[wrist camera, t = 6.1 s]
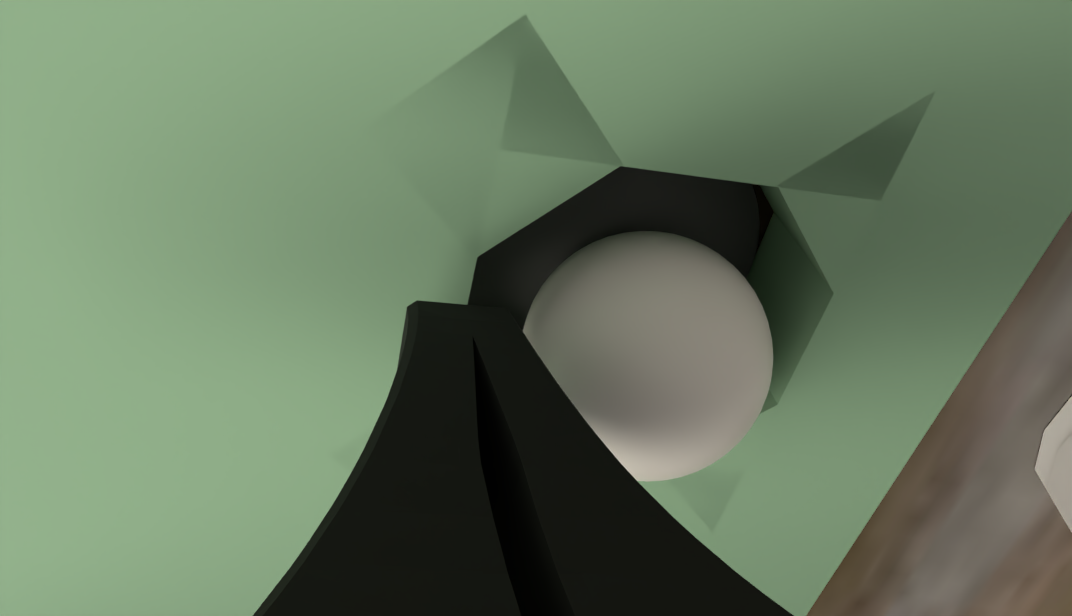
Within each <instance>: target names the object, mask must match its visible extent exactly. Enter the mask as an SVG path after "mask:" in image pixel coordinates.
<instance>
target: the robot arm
mask: <svg viewBox="0 0 1072 616" xmlns="http://www.w3.org/2000/svg"><path fill="white" fill-rule="evenodd" d="M253 616H794V615H792V614H791V613H790V612H788V611H787V610H785V609H784V608H783V607H781V606H780V605H779V604H777V603H776V602H774V601H773V600H772V599H770V598H769V597H768V596H766V595H765V594H764V593H762V592H761V591H760V590H759V589H757V588H756V587H755V586H753V585H752V584H751V583H750V582H748V581H747V580H746V579H744V578H743V577H742V576H741V575H739V574H738V573H737V572H736V571H734V570H733V569H732V568H731V567H730V566H728V565H727V564H726V563H725V562H724V561H723V560H721V559H720V558H719V557H718V556H717V555H715V554H714V553H713V552H712V551H711V550H710V549H708V548H707V547H706V546H705V545H704V544H703V543H701V542H700V541H699V540H698V539H697V538H695V537H694V536H693V535H692V534H691V533H690V532H689V531H688V530H687V529H686V528H685V527H683V526H682V525H681V524H680V523H679V522H678V521H677V520H676V519H675V518H674V517H673V516H672V515H671V514H670V513H669V512H668V511H667V510H666V509H665V508H664V507H663V506H662V505H661V504H660V503H659V502H658V501H657V500H656V499H655V498H654V497H653V496H652V495H651V494H650V493H649V492H648V491H647V490H646V489H645V488H644V487H643V486H642V485H641V484H640V483H639V482H638V481H637V480H636V479H635V478H634V477H633V476H632V475H631V474H630V473H629V472H628V471H627V470H626V469H625V467H624V466H623V465H622V464H621V463H620V462H619V461H618V459H617V458H616V457H615V456H614V455H613V454H612V452H611V451H610V450H609V449H608V448H607V446H606V445H605V444H604V443H603V442H602V441H601V439H600V438H599V437H598V436H597V434H596V433H595V432H594V431H593V429H592V428H591V427H590V426H589V424H588V423H587V422H586V421H585V419H584V418H583V417H582V415H581V414H580V413H579V411H578V410H577V408H576V407H575V406H574V404H573V403H572V402H571V400H570V399H569V398H568V396H567V395H566V394H565V392H564V391H563V390H562V388H561V387H560V386H559V384H558V383H557V381H556V380H555V379H554V377H553V376H552V374H551V373H550V371H549V370H548V368H547V367H546V366H545V364H544V363H543V361H542V360H541V358H540V357H539V355H538V354H537V352H536V351H535V349H534V348H533V346H532V345H531V343H530V342H529V340H528V339H527V337H526V336H525V334H524V333H523V331H522V329H521V328H520V326H519V325H518V323H517V322H516V320H515V319H514V317H513V316H512V315H511V313H510V312H509V311H508V309H507V308H498V307H487V306H476V305H464V304H453V303H442V302H430V301H419V300H417V301H415V302H413V303H412V304H410V305H409V306H407V310H406V316H405V323H404V329H403V335H402V342H401V348H400V354H399V360H398V367H397V372H396V375H395V377H394V380H393V383H392V386H391V389H390V391H389V394H388V397H387V400H386V402H385V404H384V407H383V409H382V411H381V413H380V416H379V418H378V420H377V422H376V424H375V426H374V428H373V431H372V433H371V435H370V437H369V439H368V441H367V443H366V446H365V448H364V450H363V452H362V453H361V455H360V457H359V459H358V461H357V463H356V465H355V467H354V468H353V470H352V472H351V474H350V476H349V477H348V479H347V481H346V483H345V484H344V486H343V488H342V489H341V491H340V493H339V495H338V496H337V498H336V500H335V501H334V503H333V505H332V506H331V508H330V509H329V511H328V512H327V514H326V515H325V517H324V518H323V520H322V522H321V523H320V525H319V526H318V528H317V529H316V531H315V532H314V534H313V535H312V537H311V538H310V540H309V541H308V543H307V544H306V546H305V547H304V549H303V550H302V552H301V553H300V554H299V556H298V557H297V559H296V560H295V561H294V563H293V564H292V566H291V567H290V568H289V570H288V571H287V572H286V573H285V575H284V576H283V577H282V579H281V580H280V581H279V582H278V584H277V585H276V586H275V588H274V589H273V590H272V591H271V593H270V594H269V595H268V597H267V598H266V599H265V600H264V602H263V603H262V604H261V606H260V607H259V608H258V609H257V611H256V612H255V613H254V615H253Z"/></svg>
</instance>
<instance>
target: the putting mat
mask: <svg viewBox="0 0 1072 616" xmlns="http://www.w3.org/2000/svg"><path fill="white" fill-rule="evenodd" d="M752 184H758V185H760V187H761V189H762V191H763V193H764V195H765V196H766V198H767V200H768V202H769V204H770V206H771V208H772V209H773V211H774V213H773V215H772V218H771V220H770V222H769V225H768V227H767V229H766V232H765V234H764V236H763V239H762V241H761V243H760V246H759V248H758V250H757V245H758V240H759V227H760V219H759V208H758V202H757V199H756V195H755V191H754V188H753V186H752ZM1071 211H1072V0H0V616H253V615H254V613H255V612H256V611H257V609H258V608H259V607H260V606H261V604H262V603H263V602H264V600H265V599H266V598H267V597H268V595H269V594H270V593H271V591H272V590H273V589H274V588H275V586H276V585H277V584H278V582H279V581H280V580H281V579H282V577H283V576H284V575H285V573H286V572H287V571H288V570H289V568H290V567H291V566H292V564H293V563H294V561H295V560H296V559H297V557H298V556H299V554H300V553H301V552H302V550H303V549H304V547H305V546H306V544H307V543H308V541H309V540H310V538H311V537H312V535H313V534H314V532H315V531H316V529H317V528H318V526H319V525H320V523H321V522H322V520H323V518H324V517H325V515H326V514H327V512H328V511H329V509H330V508H331V506H332V505H333V503H334V501H335V500H336V498H337V496H338V495H339V493H340V491H341V489H342V488H343V486H344V484H345V483H346V481H347V479H348V477H349V476H350V474H351V472H352V470H353V468H354V467H355V465H356V463H357V461H358V459H359V457H360V455H361V453H362V452H363V450H364V448H365V446H366V443H367V441H368V439H369V437H370V435H371V433H372V431H373V428H374V426H375V424H376V422H377V420H378V418H379V416H380V413H381V411H382V409H383V407H384V404H385V402H386V400H387V397H388V394H389V391H390V389H391V386H392V383H393V380H394V377H395V375H396V372H397V367H398V360H399V354H400V348H401V342H402V335H403V329H404V323H405V316H406V310H407V306H409V305H410V304H412V303H413V302H415V301H417V300H419V301H430V302H442V303H453V304H464V305H476V306H487V307H498V308H507V309H508V311H509V312H510V313H511V315H512V316H513V317H514V319H515V320H516V322H517V323H518V325H519V326H520V328H521V329H522V331H523V328H524V324H525V321H526V318H527V315H528V312H529V309H530V307H531V304H532V302H533V300H534V298H535V296H536V295H537V293H538V291H539V290H540V288H541V286H542V285H543V283H544V282H545V281H546V280H547V278H548V277H549V276H550V275H551V273H552V272H553V271H554V270H555V269H556V268H557V267H558V266H559V265H560V264H561V263H562V262H563V261H564V260H566V259H567V258H568V257H570V256H571V255H572V254H574V253H575V252H577V251H578V250H580V249H581V248H583V247H585V246H587V245H589V244H591V243H592V242H595V241H598V240H600V239H603V238H605V237H608V236H612V235H616V234H621V233H626V232H635V231H659V232H665V233H672V234H676V235H679V236H683V237H686V238H690V239H692V240H694V241H696V242H699V243H701V244H703V245H705V246H707V247H709V248H710V249H712V250H714V251H715V252H717V253H719V254H720V255H721V256H722V257H724V258H725V259H726V260H727V261H729V262H730V263H731V264H732V265H733V266H734V267H735V268H736V269H737V270H738V271H739V272H740V273H741V274H742V275H743V276H744V277H745V279H746V280H747V281H748V283H749V284H750V286H751V287H752V288H753V290H754V291H755V293H756V295H757V297H758V299H759V300H760V302H761V304H762V306H763V309H764V312H765V314H766V317H767V320H768V323H769V328H770V332H771V337H772V346H773V368H772V378H771V383H770V388H769V391H768V394H767V397H766V400H765V402H764V405H763V407H762V410H761V412H760V414H759V416H758V417H757V419H756V421H755V422H754V424H753V426H752V427H751V429H750V430H749V431H748V432H747V434H746V435H745V436H744V437H743V439H742V440H741V441H740V442H739V443H738V444H737V445H736V446H735V447H734V448H733V449H732V450H730V451H729V452H728V453H727V454H726V455H725V456H723V457H722V458H720V459H719V460H717V461H716V462H714V463H713V464H711V465H709V466H707V467H705V468H703V469H701V470H699V471H697V472H695V473H692V474H689V475H686V476H683V477H679V478H675V479H670V480H664V481H650V482H646V481H638V482H639V483H640V484H641V485H642V486H643V487H644V488H645V489H646V490H647V491H648V492H649V493H650V494H651V495H652V496H653V497H654V498H655V499H656V500H657V501H658V502H659V503H660V504H661V505H662V506H663V507H664V508H665V509H666V510H667V511H668V512H669V513H670V514H671V515H672V516H673V517H674V518H675V519H676V520H677V521H678V522H679V523H680V524H681V525H682V526H683V527H685V528H686V529H687V530H688V531H689V532H690V533H691V534H692V535H693V536H694V537H695V538H697V539H698V540H699V541H700V542H701V543H703V544H704V545H705V546H706V547H707V548H708V549H710V550H711V551H712V552H713V553H714V554H715V555H717V556H718V557H719V558H720V559H721V560H723V561H724V562H725V563H726V564H727V565H728V566H730V567H731V568H732V569H733V570H734V571H736V572H737V573H738V574H739V575H741V576H742V577H743V578H744V579H746V580H747V581H748V582H750V583H751V584H752V585H753V586H755V587H756V588H757V589H759V590H760V591H761V592H762V593H764V594H765V595H766V596H768V597H769V598H770V599H772V600H773V601H774V602H776V603H777V604H779V605H780V606H781V607H783V608H784V609H785V610H787V611H788V612H790V613H791V614H792V615H794V616H806V615H807V613H808V612H809V610H810V609H811V607H812V606H813V604H814V603H815V601H816V600H817V598H818V597H819V595H820V594H821V592H822V591H823V589H824V588H825V586H826V584H827V583H828V581H829V580H830V578H831V577H832V575H833V574H834V572H835V571H836V569H837V568H838V566H839V565H840V563H841V562H842V560H843V559H844V557H845V556H846V554H847V552H848V551H849V549H850V548H851V546H852V545H853V543H854V542H855V540H856V539H857V537H858V536H859V534H860V533H861V531H862V530H863V528H864V527H865V525H866V524H867V522H868V521H869V519H870V517H871V516H872V514H873V513H874V511H875V510H876V508H877V507H878V505H879V504H880V502H881V501H882V499H883V498H884V496H885V495H886V493H887V492H888V490H889V489H890V487H891V485H892V484H893V482H894V481H895V479H896V478H897V476H898V475H899V473H900V472H901V470H902V469H903V467H904V466H905V464H906V463H907V461H908V460H909V458H910V457H911V455H912V453H913V452H914V450H915V449H916V447H917V446H918V444H919V443H920V441H921V440H922V438H923V437H924V435H925V434H926V432H927V431H928V429H929V428H930V426H931V425H932V423H933V422H934V420H935V418H936V417H937V415H938V414H939V412H940V411H941V409H942V408H943V406H944V405H945V403H946V402H947V400H948V399H949V397H950V396H951V394H952V393H953V391H954V390H955V388H956V386H957V385H958V383H959V382H960V380H961V379H962V377H963V376H964V374H965V373H966V371H967V370H968V368H969V367H970V365H971V364H972V362H973V361H974V359H975V358H976V356H977V355H978V353H979V351H980V350H981V348H982V347H983V345H984V344H985V342H986V341H987V339H988V338H989V336H990V335H991V333H992V332H993V330H994V329H995V327H996V326H997V324H998V323H999V321H1000V319H1001V318H1002V316H1003V315H1004V313H1005V312H1006V310H1007V309H1008V307H1009V306H1010V304H1011V303H1012V301H1013V300H1014V298H1015V297H1016V295H1017V294H1018V292H1019V291H1020V289H1021V287H1022V286H1023V284H1024V283H1025V281H1026V280H1027V278H1028V277H1029V275H1030V274H1031V272H1032V271H1033V269H1034V268H1035V266H1036V265H1037V263H1038V262H1039V260H1040V259H1041V257H1042V256H1043V254H1044V252H1045V251H1046V249H1047V248H1048V246H1049V245H1050V243H1051V242H1052V240H1053V239H1054V237H1055V236H1056V234H1057V233H1058V231H1059V230H1060V228H1061V227H1062V225H1063V224H1064V222H1065V220H1066V219H1067V217H1068V216H1069V214H1070V213H1071ZM756 250H757V253H756Z"/></svg>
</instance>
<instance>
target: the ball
mask: <svg viewBox="0 0 1072 616" xmlns="http://www.w3.org/2000/svg"><path fill="white" fill-rule="evenodd" d="M523 333H524V334H525V336H526V337H527V339H528V340H529V342H530V343H531V345H532V346H533V348H534V349H535V351H536V352H537V354H538V355H539V357H540V358H541V360H542V361H543V363H544V364H545V366H546V367H547V368H548V370H549V371H550V373H551V374H552V376H553V377H554V379H555V380H556V381H557V383H558V384H559V386H560V387H561V388H562V390H563V391H564V392H565V394H566V395H567V396H568V398H569V399H570V400H571V402H572V403H573V404H574V406H575V407H576V408H577V410H578V411H579V413H580V414H581V415H582V417H583V418H584V419H585V421H586V422H587V423H588V424H589V426H590V427H591V428H592V429H593V431H594V432H595V433H596V434H597V436H598V437H599V438H600V439H601V441H602V442H603V443H604V444H605V445H606V446H607V448H608V449H609V450H610V451H611V452H612V454H613V455H614V456H615V457H616V458H617V459H618V461H619V462H620V463H621V464H622V465H623V466H624V467H625V469H626V470H627V471H628V472H629V473H630V474H631V475H632V476H633V477H634V478H635V479H636V480H637V481H646V482H650V481H664V480H670V479H675V478H679V477H683V476H686V475H689V474H692V473H695V472H697V471H699V470H701V469H703V468H705V467H707V466H709V465H711V464H713V463H714V462H716V461H717V460H719V459H720V458H722V457H723V456H725V455H726V454H727V453H728V452H729V451H730V450H732V449H733V448H734V447H735V446H736V445H737V444H738V443H739V442H740V441H741V440H742V439H743V437H744V436H745V435H746V434H747V432H748V431H749V430H750V429H751V427H752V426H753V424H754V422H755V421H756V419H757V417H758V416H759V414H760V412H761V410H762V407H763V405H764V402H765V400H766V397H767V394H768V391H769V388H770V383H771V378H772V368H773V346H772V337H771V332H770V328H769V323H768V320H767V317H766V314H765V312H764V309H763V306H762V304H761V302H760V300H759V299H758V297H757V295H756V293H755V291H754V290H753V288H752V287H751V286H750V284H749V283H748V281H747V280H746V279H745V277H744V276H743V275H742V274H741V273H740V272H739V271H738V270H737V269H736V268H735V267H734V266H733V265H732V264H731V263H730V262H729V261H727V260H726V259H725V258H724V257H722V256H721V255H720V254H719V253H717V252H715V251H714V250H712V249H710V248H709V247H707V246H705V245H703V244H701V243H699V242H696V241H694V240H692V239H690V238H686V237H683V236H679V235H676V234H672V233H665V232H659V231H635V232H626V233H621V234H616V235H612V236H608V237H605V238H603V239H600V240H598V241H595V242H592V243H591V244H589V245H587V246H585V247H583V248H581V249H580V250H578V251H577V252H575V253H574V254H572V255H571V256H570V257H568V258H567V259H566V260H564V261H563V262H562V263H561V264H560V265H559V266H558V267H557V268H556V269H555V270H554V271H553V272H552V273H551V275H550V276H549V277H548V278H547V280H546V281H545V282H544V283H543V285H542V286H541V288H540V290H539V291H538V293H537V295H536V296H535V298H534V300H533V302H532V304H531V307H530V309H529V312H528V315H527V318H526V321H525V324H524V328H523Z"/></svg>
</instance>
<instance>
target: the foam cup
mask: <svg viewBox="0 0 1072 616" xmlns="http://www.w3.org/2000/svg"><path fill="white" fill-rule="evenodd" d="M1035 471H1036V473H1037V474H1038V476H1039V478H1040V480H1041V481H1042V483H1043V485H1044V487H1045V488H1046V490H1047V492H1048V493H1049V495H1050V497H1051V499H1052V500H1053V502H1054V504H1055V506H1056V507H1057V509H1058V511H1059V512H1060V514H1061V516H1062V518H1063V519H1064V521H1065V522H1066V524H1067V526H1068V527H1069V529H1070V531H1071V532H1072V396H1071V397H1070V399H1069V400H1068V401H1067V402H1066V404H1065V405H1064V406H1063V407H1062V409H1061V410H1060V411H1059V412H1058V414H1057V415H1056V416H1055V417H1054V419H1053V420H1052V421H1051V422H1050V424H1049V425H1048V426H1047V427H1046V429H1045V430H1044V433H1043V437H1042V441H1041V445H1040V449H1039V453H1038V457H1037V461H1036V465H1035Z"/></svg>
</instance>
